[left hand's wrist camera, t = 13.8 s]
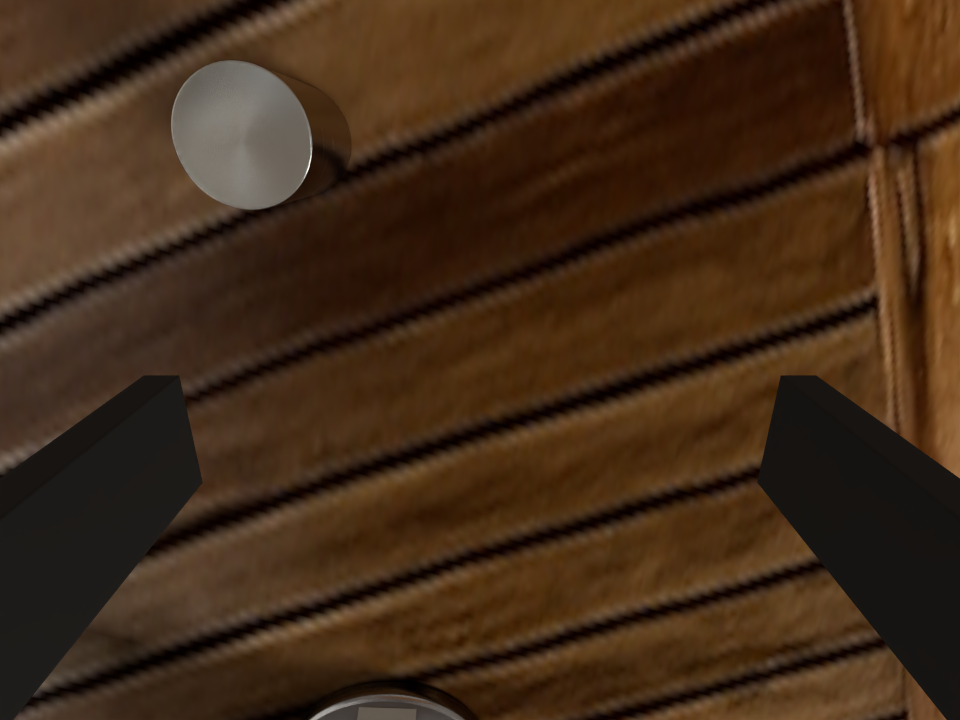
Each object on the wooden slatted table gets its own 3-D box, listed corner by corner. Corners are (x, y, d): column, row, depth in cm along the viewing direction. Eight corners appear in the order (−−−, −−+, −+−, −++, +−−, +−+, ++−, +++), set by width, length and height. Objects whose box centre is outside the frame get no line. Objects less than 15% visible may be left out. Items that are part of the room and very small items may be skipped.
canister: (286, 214, 29) (230, 235, 22) (222, 118, 27) (140, 108, 21) (371, 162, 28) (340, 166, 21) (310, 59, 27) (255, 29, 20)
